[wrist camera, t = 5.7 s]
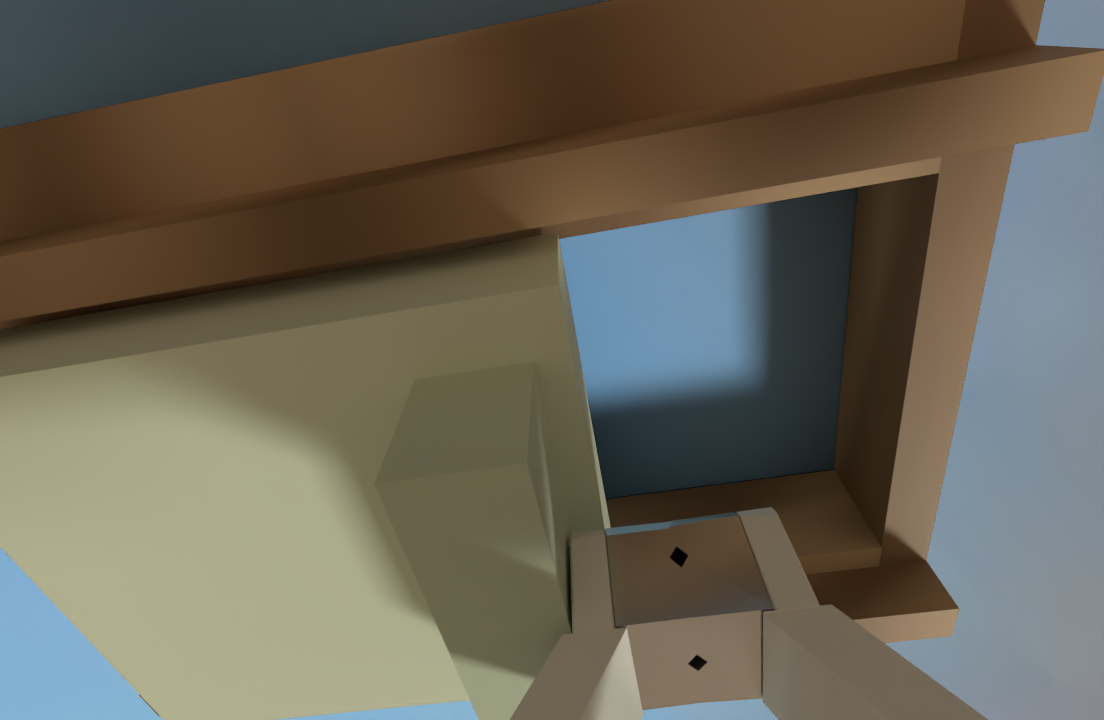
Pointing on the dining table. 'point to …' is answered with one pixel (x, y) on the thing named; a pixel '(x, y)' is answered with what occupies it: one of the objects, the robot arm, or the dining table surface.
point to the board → (603, 203)
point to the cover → (311, 484)
